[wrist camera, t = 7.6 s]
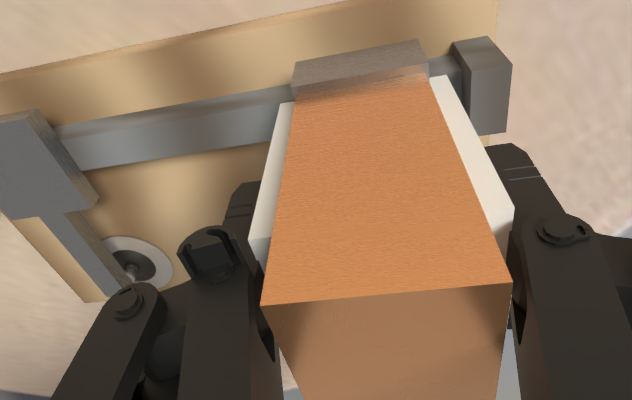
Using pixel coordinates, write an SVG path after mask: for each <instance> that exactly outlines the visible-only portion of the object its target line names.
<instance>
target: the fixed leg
mask: <svg viewBox="0 0 632 400" xmlns="http://www.w3.org/2000/svg"><path fill="white" fill-rule="evenodd" d="M98 199H99V196H98V194H97V193H96V191H95V190H94V188H93V187H92V185H91V184H90V183H89V181H88V180H87V178H86V177H85V175H84V174H83V173H82V171H81V170H80V168H79V167H78V165H77V164H76V162H75V161H74V160H73V158H72V157H71V155H70V154H69V152H68V151H67V149H66V148H65V147H64V145H63V144H62V142H61V141H60V139H59V138H58V136H57V135H56V134H55V132H54V131H53V129H52V128H51V126H50V125H49V124H48V122H47V121H46V119H45V118H44V116H43V115H42V113H41V112H40V111H39V109H38V108H36V109H31V110H26V111H20V112H15V113H10V114H5V115H0V209H1V210H2V211H3V212H4V213H5V214H6V215H7V217H8V218H9V219H10V220H18V219H25V218H32V217H39V218H40V219H41V220H42V221H43V222H44V224H45V225H46V226H47V227H48V228H49V229H50V231H51V232H52V233H53V234H54V235H55V237H56V238H57V239H58V240H59V241H60V242H61V244H62V245H63V246H64V247H65V248H66V250H67V251H68V252H69V253H70V254H71V255H72V257H73V258H74V259H75V260H76V261H77V263H78V264H79V265H80V266H81V267H82V268H83V270H84V271H85V272H86V273H87V274H88V275H89V277H90V278H91V279H92V280H93V281H94V283H95V284H96V285H97V286H98V287H99V288H100V290H101V291H102V292H103V293H104V294H105V296H106V297H111V296H113V295H114V294H115V293H116V292H118V291H119V290H120V289H122V288H124V287H126V286H128V285H130V284H133V283H134V281H135V279H136V277H137V275H138V273H139V268H138V266H136V265H135V264H132V263H126V264H124V265H123V267H121V266H120V264H119V263H118V262H117V260H116V259H115V258H114V257H113V255H112V254H111V253H110V251H109V250H108V249H107V247H106V246H105V245H104V243H103V242H102V241H101V239H100V238H99V237H98V235H97V234H96V233H95V231H94V230H93V229H92V227H91V226H90V225H89V223H88V222H87V221H86V219H85V218H84V217H83V216H82V214H81V213H80V212H79V211H81V210H88V209H92V207H93V206H94V204H95V203H96V202H97V200H98Z"/></svg>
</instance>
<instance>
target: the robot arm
mask: <svg viewBox="0 0 632 400" xmlns="http://www.w3.org/2000/svg"><path fill="white" fill-rule="evenodd" d="M429 83H430V85H431V87H432V90H433V92H434V95H435V97H436V99H437V102H438V104H439V106H440V109H441V111H442V114H443V116H444V118H445V121H446V123H447V126H448V128H449V130H450V133H451V135H452V137H453V140H454V142H455V145H456V147H457V149H458V152H459V154H460V156H461V159H462V161H463V164H464V166H465V168H466V171H467V173H468V175H469V178H470V180H471V183H472V185H473V187H474V190H475V192H476V194H477V197H478V199H479V202H480V204H481V206H482V209H483V211H484V214H485V216H486V218H487V221H488V223H489V225H490V228H491V230H492V233H493V235H494V237H495V240H496V242H497V244H498V247H499V249H500V252H501V254H502V256H503V259H504V261H505V263H506V266H507V268H508V271H509V273H510V275H511V278H512V280H513V287H512V298H511V305H510V311H509V318H508V325H507V329H512V331H513V338H514V346H515V354H516V362H517V369H518V378H519V386H520V393H521V400H632V239H630V238H622V237H613V236H607V235H602V234H598V233H595V232H594V230H593V229H592V227H591V226H590V225H589V224H587V223H586V222H584V221H583V220H581V219H580V218H577V217H575V216H572V215H569V214H566V213H565V211H564V210H563V208H562V206H561V205H560V203H559V202H558V200H557V199H556V197H555V196H554V194H553V193H552V191H551V190H550V188H549V187H548V185H547V183H546V182H545V180H544V179H543V177H541V174H540V173H539V171H538V170H537V168H536V167H534V164H533V162H532V160H531V159H530V157H529V156H528V154H527V153H526V152H525V151H523V150H522V149H520V148H518V147H517V146H515V145H514V144H512V143H507V144H500V145H493V146H487V147H483V145H482V143H481V141H480V139H479V137H478V135H477V133H476V131H475V129H474V127H473V125H472V123H471V121H470V119H469V118H468V116H467V114H466V112H465V110H464V108H463V106H462V104H461V102H460V100H459V98H458V96H457V94H456V92H455V90H454V88H453V86H452V84H451V82H450V81H449V79H448V77H447V75H442V76H436V77H431V78H429ZM293 110H294V101H293V102H287V103H281V104H280V107H279V111H278V115H277V119H276V124H275V128H274V132H273V136H272V140H271V144H270V149H269V153H268V157H267V161H266V165H265V170H264V174H263V178H262V180H259V181H253V182H246V183H241V184H240V186H239V187H238V188H237V189H236V190H235V191H234V193H233V194H232V195H231V198H230V201H229V204H228V209H227V211H226V214H225V220H223V223H222V226H221V225H214V226H207V227H204V228H202V229H199V230H197V231H195V232H194V233H192V234H191V235H189V236H188V237H187V238H186V239H185V240H184V241H183V242H182V243H181V244H180V246H179V248H178V250H177V253H176V255H177V256H178V258H179V259H180V261H181V263H182V264H183V266H184V268H185V269H186V271H187V273H188V274H189V276H190V278H191V279H190V280H188V281H186V282H184V283H182V284H179V285H177V286H174V287H171V288H169V289H166V290H163V291H160V292H159V291H158V290H157V288H156V287H155V286H153V285H152V284H150V283H146V282H138V283H134V284H130V285H128V286H126V287H124V288H122V289H120V290H119V291H118V292H116V293H115V294H114V295H113V296H111V297H110V298H109V300H108V301H107V302H106V304H105V305H104V306H103V308H102V309H101V311H100V313H99V315H98V316H97V318H96V320H95V322H94V323H93V325H92V327H91V329H90V330H89V332H88V334H87V336H86V337H85V339H84V341H83V343H82V344H81V346H80V348H79V350H78V351H77V353H76V355H75V357H74V359H73V360H72V362H71V364H70V366H69V367H68V369H67V371H66V373H65V374H64V376H63V378H62V380H61V381H60V383H59V385H58V387H57V388H56V390H55V392H54V394H53V395H52V397H51V399H50V400H284V398H283V387H282V376H281V366H280V356H279V345H278V343H277V341H276V339H275V337H274V335H273V333H272V331H271V329H270V327H269V325H268V322H267V320H266V318H265V316H264V314H263V312H262V310H261V308H260V301H261V295H262V290H263V284H264V278H265V272H266V266H267V261H268V255H269V249H270V243H271V237H272V232H273V226H274V220H275V214H276V209H277V203H278V197H279V191H280V185H281V180H282V174H283V168H284V162H285V157H286V151H287V145H288V139H289V133H290V128H291V122H292V116H293Z"/></svg>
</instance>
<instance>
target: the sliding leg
mask: <svg viewBox="0 0 632 400" xmlns="http://www.w3.org/2000/svg"><path fill="white" fill-rule="evenodd" d="M290 88H291V92H292V96H293V100H294V110H293V116H292V122H291V128H290V133H289V139H288V145H287V151H286V157H285V162H284V168H283V174H282V180H281V185H280V191H279V197H278V203H277V209H276V214H275V220H274V226H273V232H272V237H271V243H270V249H269V255H268V261H267V266H266V272H265V278H264V284H263V290H262V295H261V301H260V308H261V310H262V312H263V314H264V316H265V318H266V320H267V322H268V325H269V327H270V329H271V331H272V333H273V335H274V337H275V339H276V341H277V343H278V345H279V347H280V349H281V352H282V354H283V356H284V358H285V360H286V362H287V364H288V366H289V368H290V370H291V372H292V374H293V377H294V379H295V381H296V383H297V385H298V387H299V389H300V391H301V393H302V395H303V397H304V399H305V400H495V399H496V392H497V386H498V379H499V372H500V366H501V360H502V353H503V346H504V340H505V333H506V327H507V320H508V314H509V307H510V301H511V294H512V287H513V280H512V278H511V275H510V273H509V271H508V268H507V266H506V263H505V261H504V259H503V256H502V254H501V252H500V249H499V247H498V244H497V242H496V240H495V237H494V235H493V233H492V230H491V228H490V225H489V223H488V221H487V218H486V216H485V214H484V211H483V209H482V206H481V204H480V202H479V199H478V197H477V194H476V192H475V190H474V187H473V185H472V183H471V180H470V178H469V175H468V173H467V171H466V168H465V166H464V164H463V161H462V159H461V156H460V154H459V152H458V149H457V147H456V145H455V142H454V140H453V137H452V135H451V133H450V130H449V128H448V126H447V123H446V121H445V118H444V116H443V114H442V111H441V109H440V106H439V104H438V102H437V99H436V97H435V95H434V92H433V90H432V87H431V85H430V83H429V62H428V60H427V57H426V55H425V53H424V51H423V49H422V47H421V44H420V42H419V40H418V39H413V40H408V41H403V42H397V43H392V44H387V45H382V46H376V47H371V48H366V49H361V50H355V51H350V52H345V53H340V54H334V55H329V56H324V57H319V58H313V59H308V60H303V61H298V62H295V67H294V72H293V77H292V82H291V86H290Z"/></svg>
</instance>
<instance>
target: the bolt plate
mask: <svg viewBox="0 0 632 400" xmlns="http://www.w3.org/2000/svg"><path fill="white" fill-rule="evenodd" d="M498 2H499V0H348V1H344V2H339V3H334V4H329V5H325V6H320V7H315V8H310V9H306V10H301V11H296V12H291V13H287V14H282V15H277V16H272V17H268V18H263V19H258V20H253V21H249V22H244V23H239V24H234V25H230V26H225V27H220V28H215V29H211V30H206V31H201V32H196V33H192V34H187V35H182V36H177V37H173V38H168V39H163V40H158V41H154V42H149V43H144V44H139V45H135V46H130V47H125V48H120V49H116V50H111V51H106V52H102V53H97V54H92V55H87V56H83V57H78V58H73V59H68V60H64V61H59V62H54V63H49V64H45V65H40V66H35V67H30V68H26V69H21V70H16V71H11V72H7V73H2V74H0V115H5V114H10V113H15V112H20V111H26V110H31V109H36V108H38V109H39V111H40V112H41V113H42V115H43V116H44V118H45V119H46V121H47V122H48V124H49V125H50V126H51V128H52V129H53V131H54V132H55V134H56V135H57V136H58V138H59V139H60V141H61V142H62V144H63V145H64V147H65V148H66V149H67V151H68V152H69V154H70V155H71V157H72V158H73V160H74V161H75V162H76V164H77V165H78V167H79V168H80V170H81V171H82V173H83V174H84V175H85V177H86V178H87V180H88V181H89V183H90V184H91V185H92V187H93V188H94V190H95V191H96V193H97V194H98V196H99V199H98V200H97V202H96V203H95V204H94V206H93V207H92V209H88V210H81V211H79V212H80V213H81V214H82V216H83V217H84V218H85V219H86V221H87V222H88V223H89V225H90V226H91V227H92V229H93V230H94V231H95V233H96V234H97V235H98V237H99V238H100V239H101V241H102V242H103V243H104V245H105V246H106V247H107V249H108V250H109V251H110V253H111V254H112V255H113V257H114V258H115V259H116V260H117V262H118V263H119V264H120V266H121V267H123V265H124V264H126V263H132V264H135V265H136V266H138V268H139V273H138V275H137V277H136V279H135V281H134V283H138V282H146V283H150V284H152V285H153V286H155V287H156V288H157V290H158V291H159V292H160V291H163V290H166V289H169V288H171V287H174V286H177V285H179V284H182V283H184V282H186V281H188V280H190V279H191V278H190V276H189V274H188V273H187V271H186V269H185V268H184V266H183V264H182V263H181V261H180V259H179V258H178V256H177V255H176V253H177V250H178V248H179V246H180V244H181V243H182V242H183V241H184V240H185V239H186V238H187V237H188V236H189V235H191V234H192V233H194V232H195V231H197V230H199V229H202V228H204V227H207V226H214V225H221V226H222V223H223V220H225V214H226V211H227V209H228V204H229V201H230V198H231V195H232V194H233V193H234V191H235V190H236V189H237V188H238V187H239V186H240V184H241V183H246V182H253V181H259V180H262V178H263V174H264V170H265V165H266V161H267V157H268V153H269V149H270V144H271V140H272V136H273V132H274V128H275V124H276V119H277V115H278V111H279V107H280V104H281V103H287V102H293V101H294V100H293V96H292V92H291V88H290V86H291V82H292V77H293V72H294V67H295V62H298V61H303V60H308V59H313V58H319V57H324V56H329V55H334V54H340V53H345V52H350V51H355V50H361V49H366V48H371V47H376V46H382V45H387V44H392V43H397V42H403V41H408V40H413V39H418V40H419V42H420V44H421V47H422V49H423V51H424V53H425V55H426V57H427V60H428V62H429V78H431V77H436V76H442V75H447V77H448V79H449V81H450V82H451V84H452V86H453V88H454V90H455V92H456V94H457V96H458V98H459V100H460V102H461V104H462V106H463V108H464V110H465V112H466V114H467V116H468V118H469V119H470V121H471V123H472V125H473V127H474V129H475V131H476V133H477V135H478V137H479V139H480V141H481V143H482V145H483V147H487V146H488V144H489V135H490V134H497V133H504V132H506V126H507V116H508V106H509V95H510V85H511V75H512V65H513V64H512V63H511V62H510V61H509V60H508V59H507V57H506V56H505V55H504V54H503V53H502V52H501V50H500V49H499V48H498V47H497V46H496V30H497V16H498ZM0 211H1V212H2V213H3V214H4V215H5V216H6V217H7V215H6V214H5V213H4V212H3V211H2V210H1V209H0ZM7 218H8V217H7ZM8 220H9V221H10V222H11V223H12V224H13V225H14V226H15V227H16V228H17V229H18V230H19V232H20V233H21V234H22V235H23V236H24V237H25V238H26V239H27V240H28V241H29V242H30V244H31V245H32V246H33V247H34V248H35V249H36V250H37V251H38V252H39V253H40V255H41V256H42V257H43V258H44V259H45V260H46V261H47V262H48V263H49V264H50V265H51V267H52V268H53V269H54V270H55V271H56V272H57V273H58V274H59V275H60V276H61V277H62V279H63V280H64V281H65V282H66V283H67V284H68V285H69V286H70V287H71V288H72V289H73V291H74V292H75V293H76V294H77V295H78V296H79V297H80V298H81V299H82V300H83V301H84V303H90V302H100V301H108V300H109V298H110V297H106V296H105V294H104V293H103V292H102V291H101V290H100V288H99V287H98V286H97V285H96V284H95V283H94V281H93V280H92V279H91V278H90V277H89V275H88V274H87V273H86V272H85V271H84V270H83V268H82V267H81V266H80V265H79V264H78V263H77V261H76V260H75V259H74V258H73V257H72V255H71V254H70V253H69V252H68V251H67V250H66V248H65V247H64V246H63V245H62V244H61V242H60V241H59V240H58V239H57V238H56V237H55V235H54V234H53V233H52V232H51V231H50V229H49V228H48V227H47V226H46V225H45V224H44V222H43V221H42V220H41V219H40V218H39V217H32V218H25V219H18V220H10V219H9V218H8ZM134 283H133V284H134Z"/></svg>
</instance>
